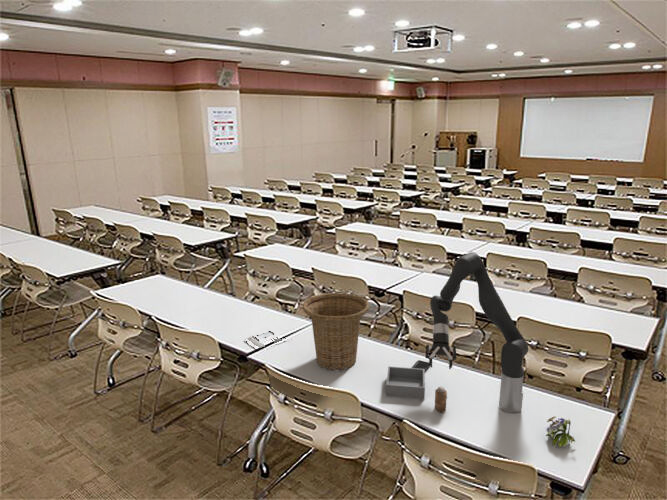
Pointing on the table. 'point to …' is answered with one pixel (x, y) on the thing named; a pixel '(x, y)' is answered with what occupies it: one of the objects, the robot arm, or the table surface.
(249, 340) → the office telephone
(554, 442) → the passion flower
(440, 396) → the pepper mill
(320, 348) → the wicker basket
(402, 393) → the bin
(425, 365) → the phone
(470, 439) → the table surface
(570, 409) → the table surface
